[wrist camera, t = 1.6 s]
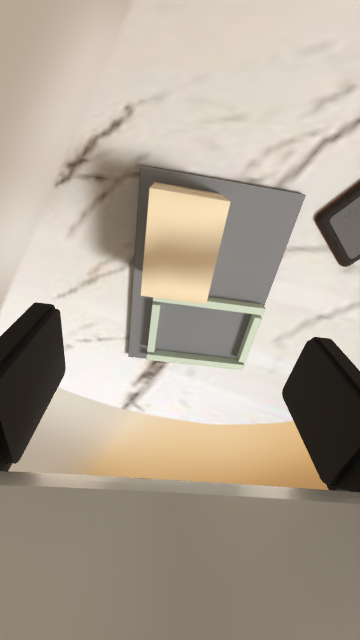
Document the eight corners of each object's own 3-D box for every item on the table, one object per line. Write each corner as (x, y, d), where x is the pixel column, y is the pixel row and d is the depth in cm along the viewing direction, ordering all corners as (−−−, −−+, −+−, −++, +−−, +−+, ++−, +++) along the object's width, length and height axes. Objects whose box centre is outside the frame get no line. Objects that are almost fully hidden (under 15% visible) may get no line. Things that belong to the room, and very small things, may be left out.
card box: (154, 182, 21) (149, 187, 17) (219, 193, 22) (230, 201, 17) (146, 272, 25) (140, 295, 21) (201, 280, 26) (206, 304, 22)
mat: (141, 165, 21) (139, 165, 20) (303, 194, 22) (311, 196, 21) (129, 353, 31) (127, 362, 30) (239, 366, 33) (242, 374, 31)
